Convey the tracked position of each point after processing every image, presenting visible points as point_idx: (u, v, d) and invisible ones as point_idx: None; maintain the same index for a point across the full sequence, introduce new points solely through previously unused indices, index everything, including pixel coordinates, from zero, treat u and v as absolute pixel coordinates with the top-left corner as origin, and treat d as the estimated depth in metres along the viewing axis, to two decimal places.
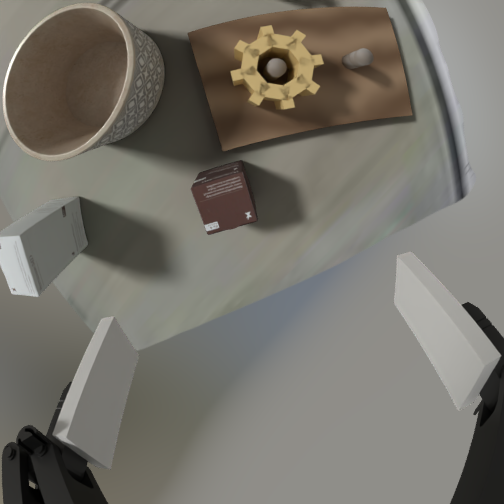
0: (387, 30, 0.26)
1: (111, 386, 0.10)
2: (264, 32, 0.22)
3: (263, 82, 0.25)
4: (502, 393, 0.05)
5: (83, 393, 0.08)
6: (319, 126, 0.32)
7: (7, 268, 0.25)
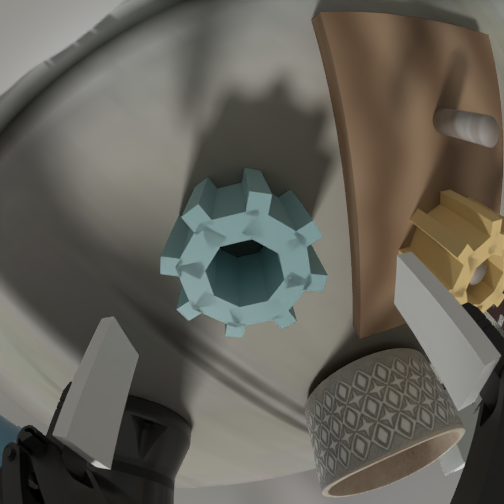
0: (375, 25, 0.13)
1: (111, 386, 0.10)
2: None
3: (492, 295, 0.16)
4: (502, 392, 0.05)
5: (83, 393, 0.08)
6: (500, 184, 0.18)
7: None
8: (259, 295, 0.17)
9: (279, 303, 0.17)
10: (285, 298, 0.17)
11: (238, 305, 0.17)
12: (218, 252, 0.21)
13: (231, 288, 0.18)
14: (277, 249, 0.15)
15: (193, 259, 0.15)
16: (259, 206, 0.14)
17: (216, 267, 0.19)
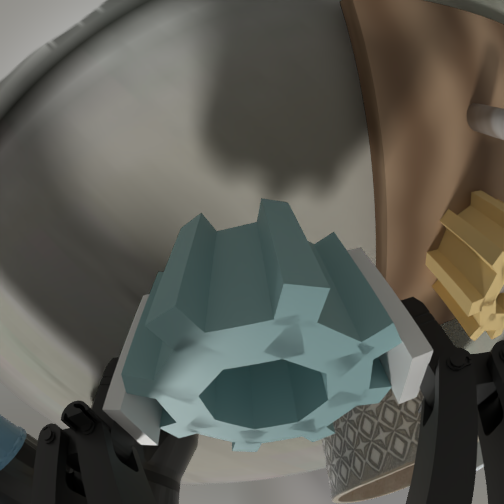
0: (408, 10, 0.10)
1: None
2: (476, 311, 0.13)
3: None
4: (437, 392, 0.06)
5: None
6: None
7: None
8: (284, 409, 0.10)
9: (315, 422, 0.09)
10: (324, 417, 0.09)
11: (252, 426, 0.10)
12: None
13: (241, 394, 0.11)
14: (324, 368, 0.08)
15: (176, 382, 0.08)
16: (302, 310, 0.07)
17: None
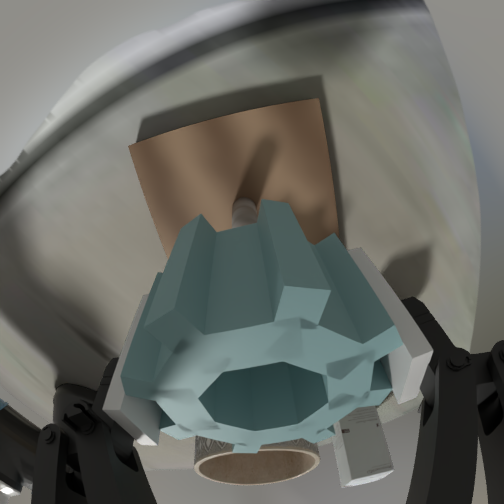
0: (171, 143, 0.22)
1: None
2: None
3: None
4: (437, 392, 0.06)
5: None
6: None
7: (366, 482, 0.34)
8: (285, 411, 0.10)
9: (315, 424, 0.09)
10: (325, 418, 0.09)
11: (252, 428, 0.09)
12: None
13: (241, 396, 0.11)
14: (325, 370, 0.08)
15: (176, 385, 0.08)
16: (302, 312, 0.07)
17: None
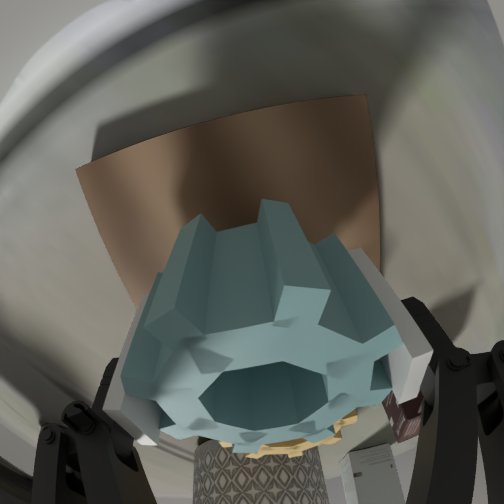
0: (135, 163, 0.14)
1: None
2: None
3: None
4: (437, 392, 0.06)
5: None
6: None
7: None
8: (284, 410, 0.10)
9: (315, 423, 0.09)
10: (325, 418, 0.09)
11: (252, 428, 0.09)
12: None
13: (241, 396, 0.11)
14: (325, 370, 0.08)
15: (176, 384, 0.08)
16: (302, 312, 0.07)
17: None
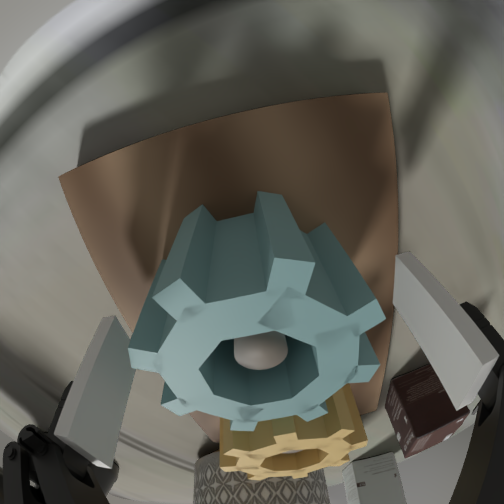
0: (123, 170, 0.12)
1: (112, 385, 0.10)
2: (234, 470, 0.15)
3: (318, 464, 0.15)
4: (500, 392, 0.05)
5: (84, 392, 0.08)
6: (388, 324, 0.17)
7: None
8: (279, 386, 0.11)
9: (308, 399, 0.10)
10: (317, 394, 0.10)
11: (249, 402, 0.11)
12: None
13: (238, 373, 0.12)
14: (314, 341, 0.09)
15: (179, 355, 0.09)
16: (291, 282, 0.08)
17: None
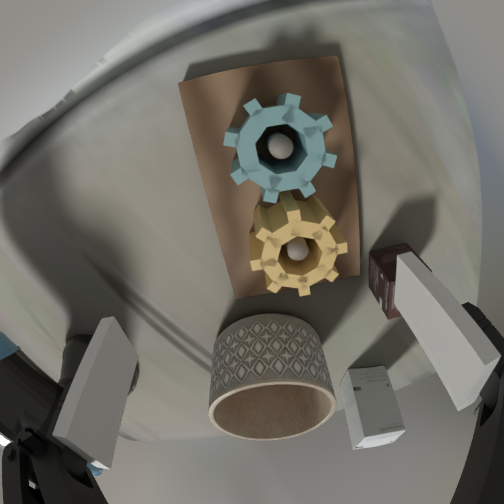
0: (216, 82, 0.24)
1: (111, 386, 0.10)
2: (259, 268, 0.27)
3: (316, 270, 0.27)
4: (502, 392, 0.05)
5: (83, 393, 0.08)
6: (354, 182, 0.29)
7: (377, 443, 0.37)
8: (289, 170, 0.23)
9: (304, 174, 0.23)
10: (308, 170, 0.23)
11: (275, 173, 0.23)
12: (257, 153, 0.27)
13: (269, 167, 0.24)
14: (303, 132, 0.21)
15: (248, 134, 0.21)
16: (293, 102, 0.20)
17: (257, 156, 0.25)
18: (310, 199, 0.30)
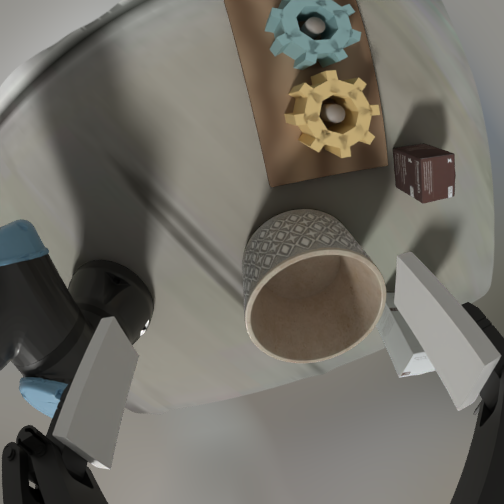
0: None
1: (111, 386, 0.10)
2: (303, 122, 0.26)
3: (355, 129, 0.26)
4: (502, 392, 0.05)
5: (83, 393, 0.08)
6: (373, 75, 0.28)
7: (423, 369, 0.36)
8: None
9: (337, 42, 0.22)
10: (340, 39, 0.22)
11: (313, 40, 0.22)
12: None
13: None
14: (333, 12, 0.20)
15: (290, 10, 0.20)
16: None
17: None
18: None
